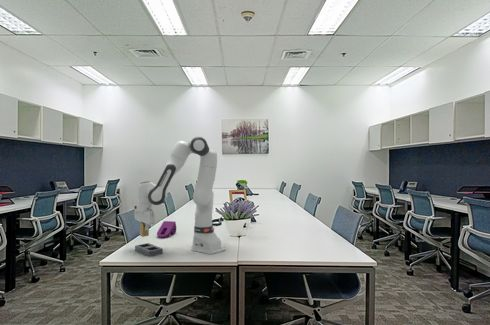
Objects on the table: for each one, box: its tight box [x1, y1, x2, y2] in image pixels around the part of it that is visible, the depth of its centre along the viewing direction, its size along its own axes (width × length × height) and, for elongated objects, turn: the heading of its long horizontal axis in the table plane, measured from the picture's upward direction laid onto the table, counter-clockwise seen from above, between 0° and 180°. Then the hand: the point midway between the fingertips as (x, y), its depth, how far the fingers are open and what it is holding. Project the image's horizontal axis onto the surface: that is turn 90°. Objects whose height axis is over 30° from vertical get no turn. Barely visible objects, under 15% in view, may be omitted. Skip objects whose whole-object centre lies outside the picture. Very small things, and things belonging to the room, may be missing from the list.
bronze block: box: [139, 222, 150, 237], centre depth 192 cm, size 4×4×8 cm
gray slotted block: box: [134, 242, 164, 257], centre depth 189 cm, size 18×9×3 cm, turn 45°
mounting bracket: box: [156, 220, 177, 239], centre depth 232 cm, size 10×8×18 cm
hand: (144, 229), depth 192 cm, fingers closed on bronze block, 4 cm apart
